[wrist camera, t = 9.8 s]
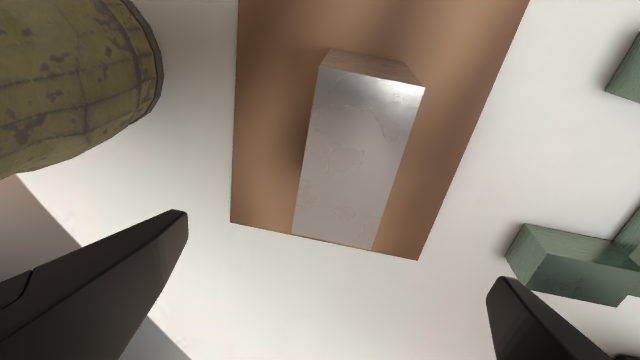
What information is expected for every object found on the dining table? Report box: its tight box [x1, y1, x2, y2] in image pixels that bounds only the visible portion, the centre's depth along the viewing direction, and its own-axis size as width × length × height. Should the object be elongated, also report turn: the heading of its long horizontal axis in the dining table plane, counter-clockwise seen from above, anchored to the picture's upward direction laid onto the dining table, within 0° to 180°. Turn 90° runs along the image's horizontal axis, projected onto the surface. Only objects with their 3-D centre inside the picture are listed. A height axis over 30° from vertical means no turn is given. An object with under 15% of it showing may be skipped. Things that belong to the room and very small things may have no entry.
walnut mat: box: [230, 0, 530, 261], centre depth 19 cm, size 14×18×1 cm
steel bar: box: [291, 48, 425, 250], centre depth 16 cm, size 4×8×6 cm, turn 170°
